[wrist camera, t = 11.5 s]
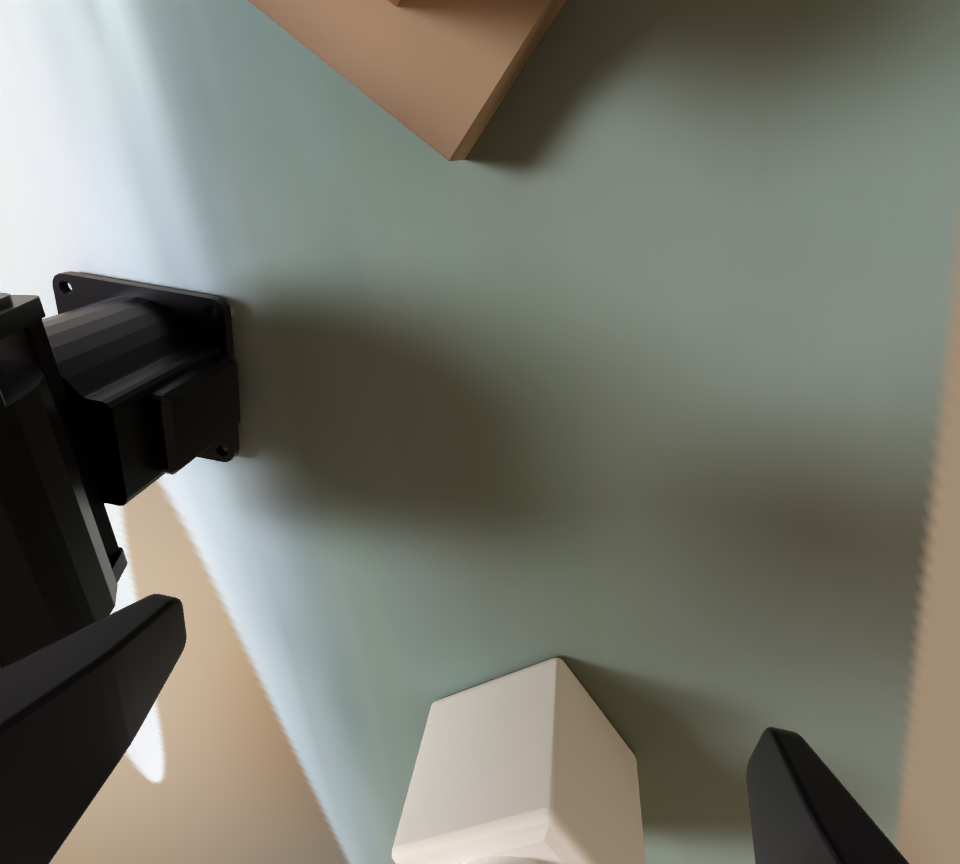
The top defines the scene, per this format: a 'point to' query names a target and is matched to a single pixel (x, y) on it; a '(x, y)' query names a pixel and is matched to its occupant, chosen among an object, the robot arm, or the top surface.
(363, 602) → the top surface
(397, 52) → the walnut block
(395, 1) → the terracotta block
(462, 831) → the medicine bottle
